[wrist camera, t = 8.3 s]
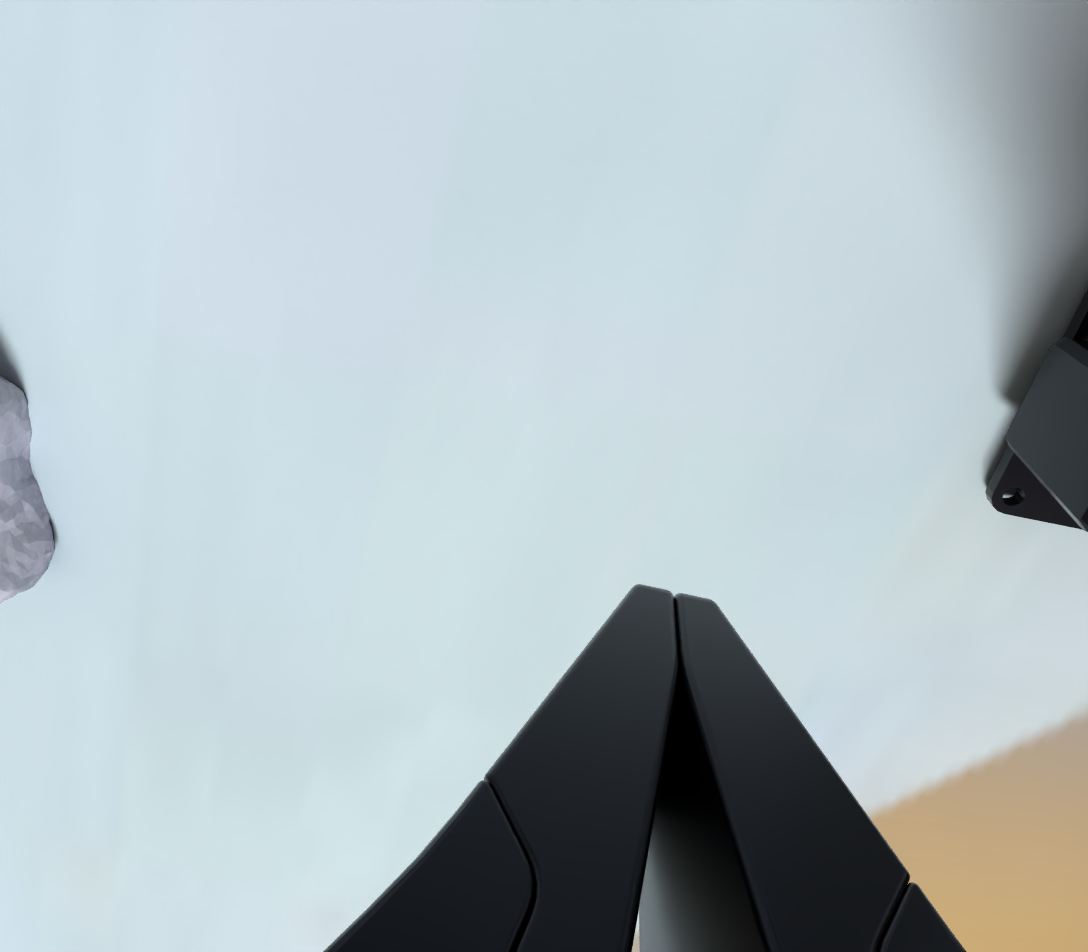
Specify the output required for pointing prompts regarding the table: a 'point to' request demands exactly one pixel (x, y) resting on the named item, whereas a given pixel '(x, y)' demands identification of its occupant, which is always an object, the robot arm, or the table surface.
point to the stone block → (20, 500)
